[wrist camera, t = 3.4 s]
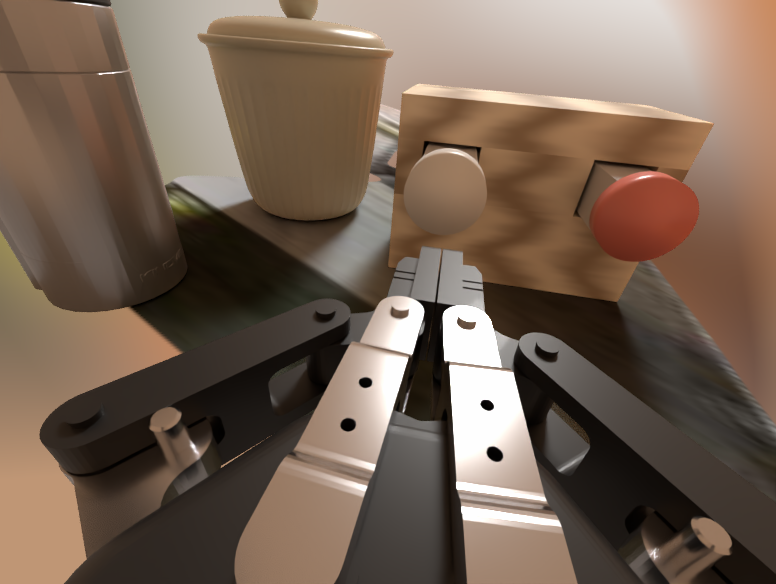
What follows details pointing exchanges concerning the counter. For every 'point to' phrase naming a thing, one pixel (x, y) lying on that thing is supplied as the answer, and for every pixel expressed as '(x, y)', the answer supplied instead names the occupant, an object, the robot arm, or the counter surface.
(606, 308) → the counter surface
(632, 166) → the red plug
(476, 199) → the beige plug
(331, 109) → the canister
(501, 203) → the block
